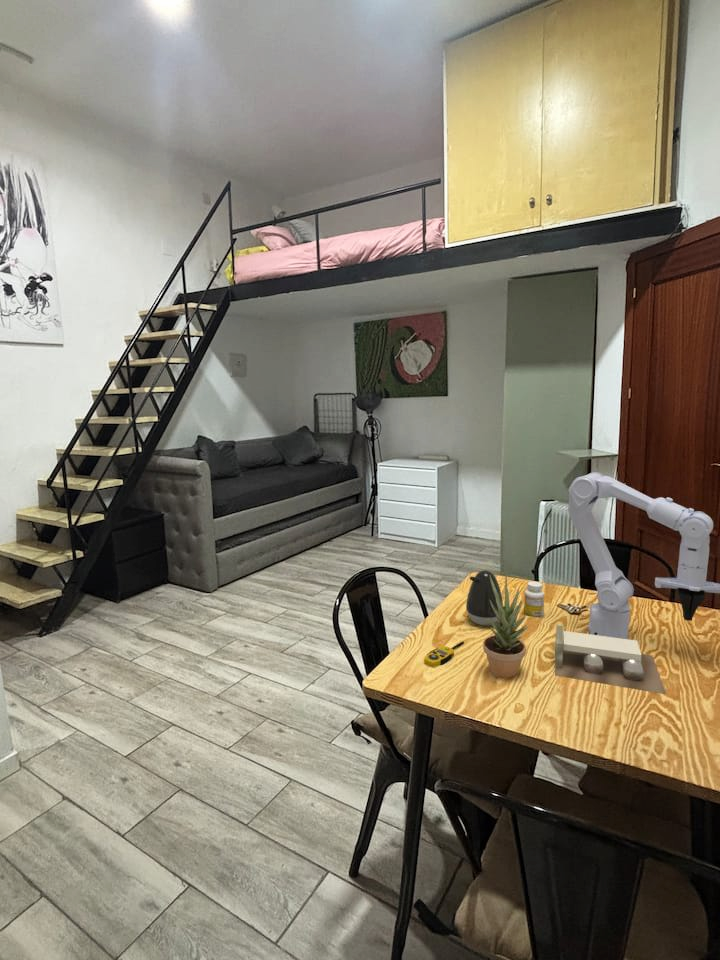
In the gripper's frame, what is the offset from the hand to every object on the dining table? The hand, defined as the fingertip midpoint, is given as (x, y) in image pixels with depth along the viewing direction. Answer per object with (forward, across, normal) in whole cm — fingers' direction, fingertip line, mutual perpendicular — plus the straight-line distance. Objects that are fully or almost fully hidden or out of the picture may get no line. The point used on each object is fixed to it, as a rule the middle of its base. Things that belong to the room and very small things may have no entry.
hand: (687, 618), depth 122 cm
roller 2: (+9, -11, -11) cm, 18 cm away
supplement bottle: (+11, -35, +14) cm, 39 cm away
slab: (+6, -19, -11) cm, 23 cm away
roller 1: (+8, -19, -11) cm, 24 cm away
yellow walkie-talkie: (+11, -54, -16) cm, 58 cm away
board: (+10, -18, -11) cm, 24 cm away
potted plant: (+11, -40, -21) cm, 46 cm away
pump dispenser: (+11, -48, +5) cm, 49 cm away
